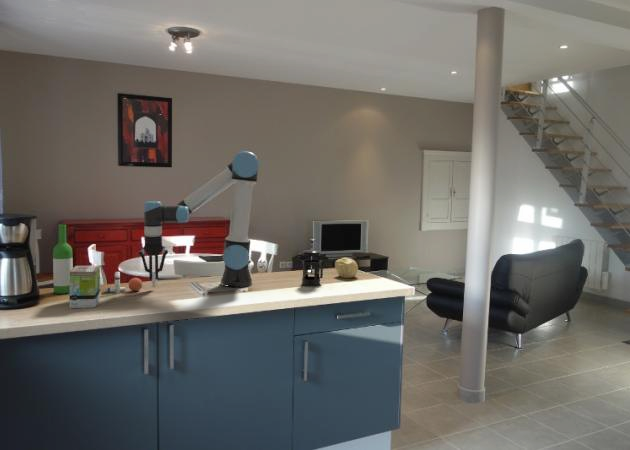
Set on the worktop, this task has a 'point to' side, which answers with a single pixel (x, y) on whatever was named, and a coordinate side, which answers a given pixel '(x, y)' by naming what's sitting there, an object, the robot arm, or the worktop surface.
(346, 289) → the worktop surface
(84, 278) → the tea box
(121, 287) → the front pin
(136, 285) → the ball
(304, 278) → the french press
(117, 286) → the pin
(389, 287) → the worktop surface
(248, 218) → the robot arm
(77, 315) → the worktop surface
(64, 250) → the wine bottle
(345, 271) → the sculpture
